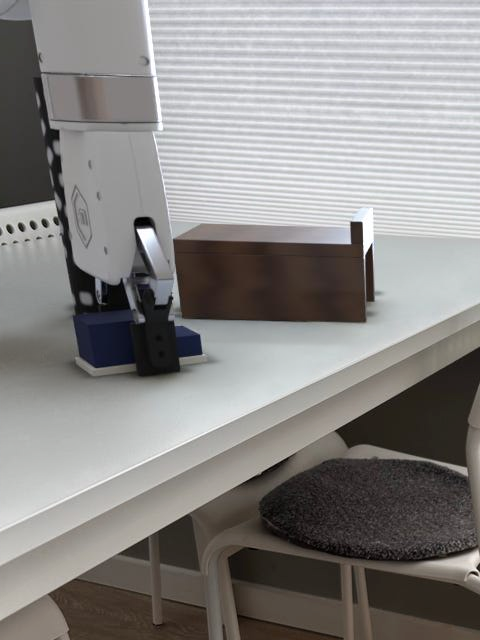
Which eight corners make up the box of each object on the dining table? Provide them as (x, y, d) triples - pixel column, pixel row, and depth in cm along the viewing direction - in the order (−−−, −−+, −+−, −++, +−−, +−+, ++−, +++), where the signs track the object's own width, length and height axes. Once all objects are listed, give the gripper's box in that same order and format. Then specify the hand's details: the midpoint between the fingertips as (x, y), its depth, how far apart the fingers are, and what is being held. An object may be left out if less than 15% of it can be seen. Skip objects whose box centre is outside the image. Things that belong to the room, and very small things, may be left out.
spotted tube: (182, 311, 95) (153, 81, 85) (123, 326, 89) (84, 79, 79) (118, 302, 98) (83, 78, 88) (56, 316, 92) (11, 76, 82)
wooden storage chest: (181, 318, 93) (168, 215, 88) (209, 295, 103) (199, 202, 98) (365, 322, 93) (362, 221, 89) (375, 299, 104) (372, 207, 99)
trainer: (94, 385, 72) (84, 325, 69) (77, 372, 75) (67, 314, 72) (208, 370, 76) (202, 313, 74) (188, 358, 79) (181, 303, 77)
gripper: (16, 101, 70) (62, 347, 79) (87, 109, 58) (132, 398, 67) (117, 103, 74) (151, 337, 83) (204, 111, 62) (232, 383, 71)
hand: (142, 362), depth 75 cm, fingers open, 6 cm apart
